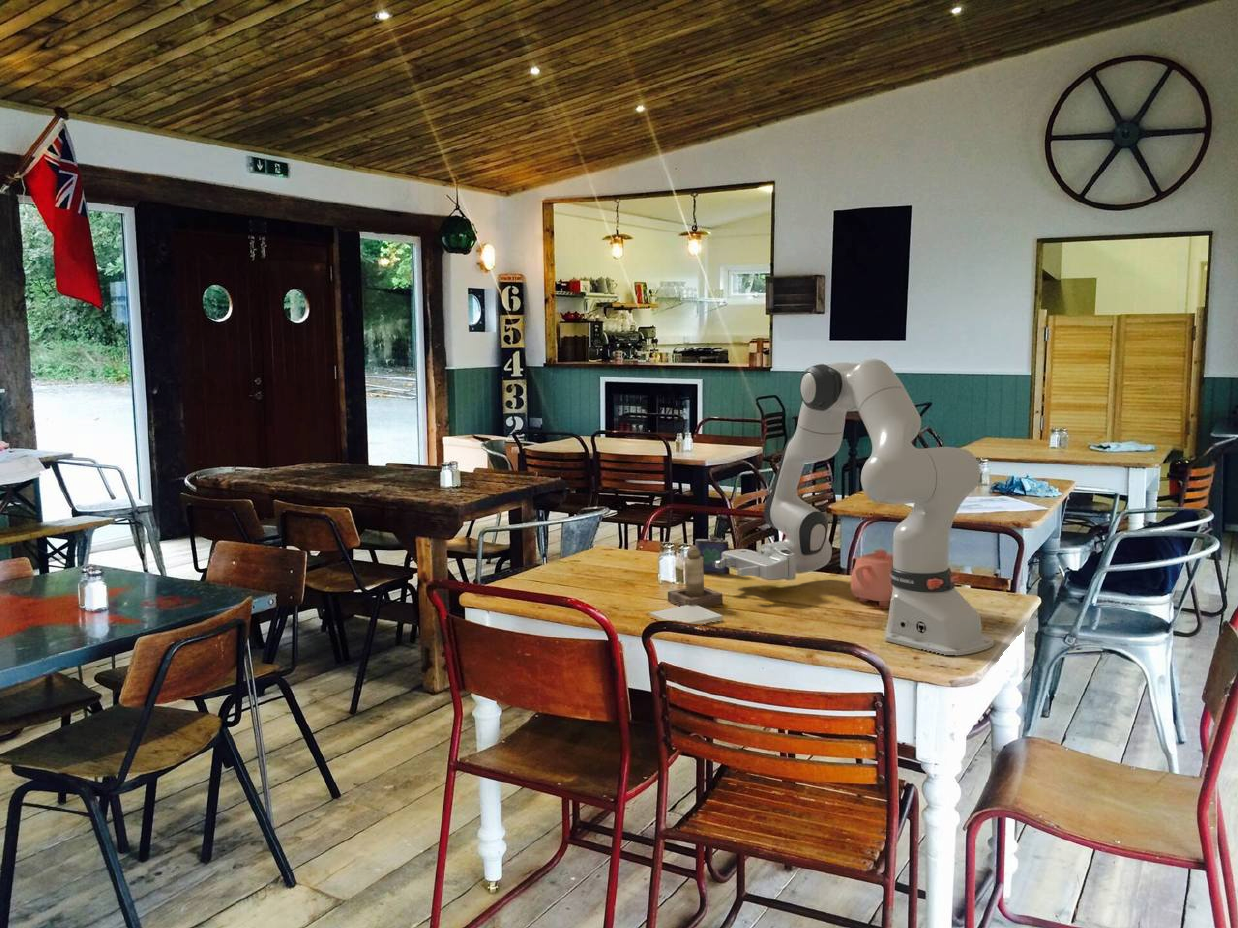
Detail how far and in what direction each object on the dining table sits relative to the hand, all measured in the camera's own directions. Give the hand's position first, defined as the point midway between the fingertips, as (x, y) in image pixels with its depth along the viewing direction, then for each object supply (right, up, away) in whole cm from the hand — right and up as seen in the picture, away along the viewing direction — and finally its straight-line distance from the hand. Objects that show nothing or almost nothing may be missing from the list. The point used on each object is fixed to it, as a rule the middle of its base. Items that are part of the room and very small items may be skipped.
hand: (727, 568), depth 249 cm
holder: (-8, -8, -4) cm, 12 cm away
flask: (-1, -4, +25) cm, 25 cm away
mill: (-8, -8, -4) cm, 12 cm away
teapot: (+36, -7, -7) cm, 37 cm away
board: (-11, -10, -17) cm, 22 cm away
